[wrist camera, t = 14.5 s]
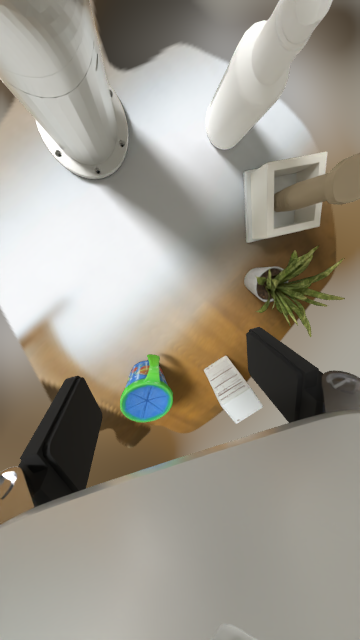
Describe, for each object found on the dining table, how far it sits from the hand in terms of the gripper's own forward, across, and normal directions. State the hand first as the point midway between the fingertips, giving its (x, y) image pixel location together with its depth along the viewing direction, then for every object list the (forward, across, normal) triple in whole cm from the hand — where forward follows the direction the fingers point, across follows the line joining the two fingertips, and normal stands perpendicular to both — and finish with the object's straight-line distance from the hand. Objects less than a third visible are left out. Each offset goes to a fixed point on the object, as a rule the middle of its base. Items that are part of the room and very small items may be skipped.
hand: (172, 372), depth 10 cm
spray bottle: (+31, -18, -22) cm, 42 cm away
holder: (+30, -27, -9) cm, 42 cm away
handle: (+30, -27, -9) cm, 41 cm away
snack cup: (+31, +7, +22) cm, 38 cm away
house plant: (+31, -24, +6) cm, 39 cm away
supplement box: (+31, -12, +28) cm, 43 cm away
